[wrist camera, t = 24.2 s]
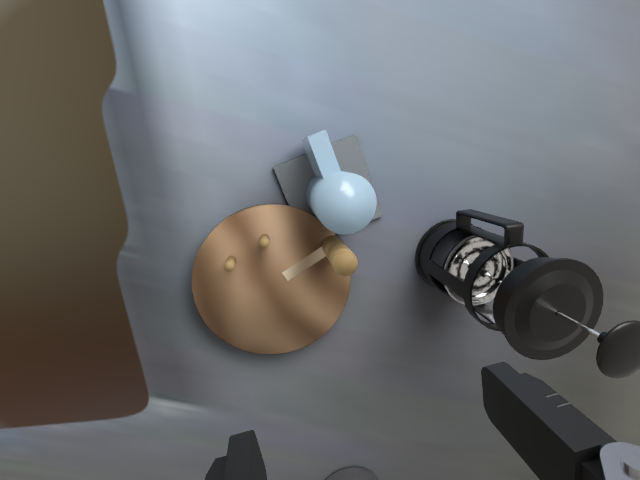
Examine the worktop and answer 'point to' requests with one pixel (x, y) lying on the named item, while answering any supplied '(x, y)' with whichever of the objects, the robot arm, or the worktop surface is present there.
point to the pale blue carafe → (336, 190)
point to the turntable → (271, 279)
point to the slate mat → (300, 172)
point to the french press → (526, 293)
